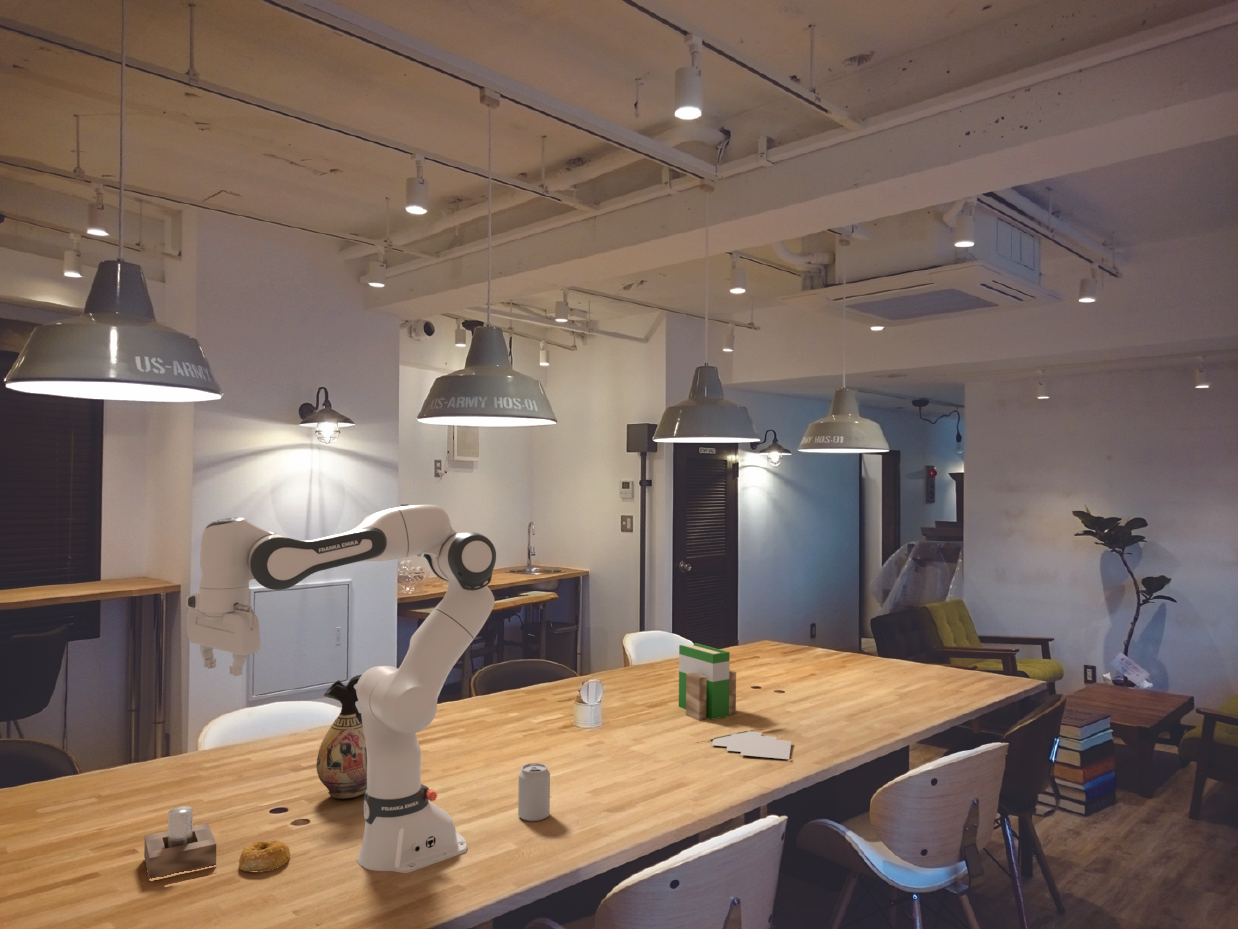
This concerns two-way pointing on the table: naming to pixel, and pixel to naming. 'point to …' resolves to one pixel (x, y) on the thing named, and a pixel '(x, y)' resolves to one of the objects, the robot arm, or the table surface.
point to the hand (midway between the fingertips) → (222, 671)
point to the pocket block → (179, 852)
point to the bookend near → (696, 696)
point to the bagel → (264, 856)
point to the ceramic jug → (344, 746)
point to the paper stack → (755, 745)
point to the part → (180, 826)
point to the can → (534, 792)
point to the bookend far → (732, 692)
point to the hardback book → (711, 666)
